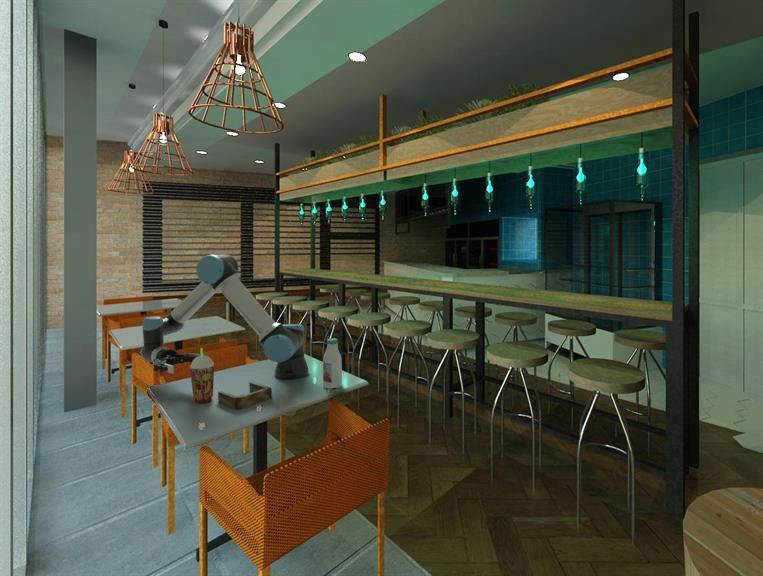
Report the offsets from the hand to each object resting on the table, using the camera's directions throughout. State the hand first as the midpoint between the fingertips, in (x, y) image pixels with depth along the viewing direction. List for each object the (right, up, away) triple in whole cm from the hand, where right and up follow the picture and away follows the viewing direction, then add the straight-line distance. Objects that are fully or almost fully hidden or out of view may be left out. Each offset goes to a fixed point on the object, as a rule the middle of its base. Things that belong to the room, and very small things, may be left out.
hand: (190, 366), depth 158 cm
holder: (+21, -12, -2) cm, 25 cm away
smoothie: (+6, -12, -3) cm, 14 cm away
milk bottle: (+53, -11, +13) cm, 56 cm away
